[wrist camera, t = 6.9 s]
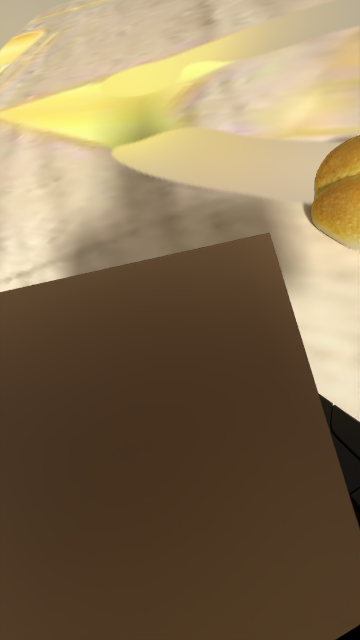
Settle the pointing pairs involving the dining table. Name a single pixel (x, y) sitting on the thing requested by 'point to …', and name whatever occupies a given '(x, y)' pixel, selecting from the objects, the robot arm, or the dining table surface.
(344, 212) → the bread roll
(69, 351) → the walnut column
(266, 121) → the dining table surface
